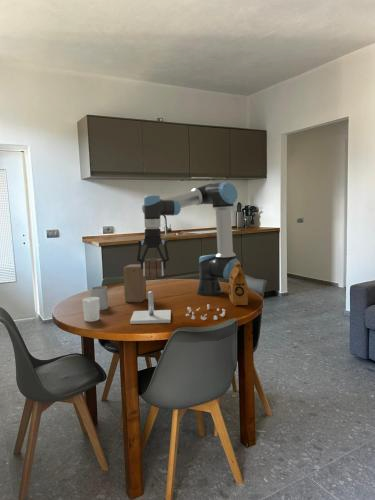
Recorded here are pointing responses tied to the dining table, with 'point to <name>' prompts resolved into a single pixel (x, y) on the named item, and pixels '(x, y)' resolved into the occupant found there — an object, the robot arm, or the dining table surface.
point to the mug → (100, 296)
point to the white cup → (91, 308)
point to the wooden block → (134, 283)
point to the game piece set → (206, 314)
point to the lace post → (150, 303)
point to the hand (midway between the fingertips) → (153, 275)
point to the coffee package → (238, 286)
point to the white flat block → (151, 317)
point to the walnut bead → (153, 268)
